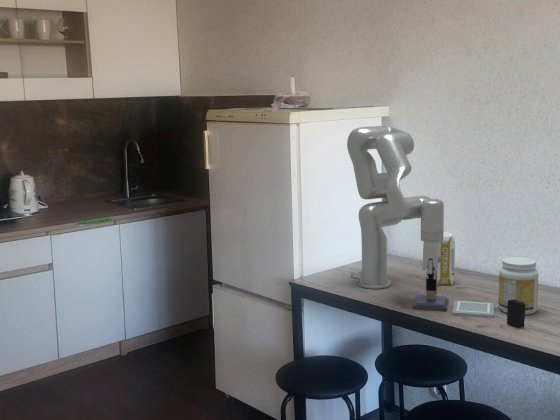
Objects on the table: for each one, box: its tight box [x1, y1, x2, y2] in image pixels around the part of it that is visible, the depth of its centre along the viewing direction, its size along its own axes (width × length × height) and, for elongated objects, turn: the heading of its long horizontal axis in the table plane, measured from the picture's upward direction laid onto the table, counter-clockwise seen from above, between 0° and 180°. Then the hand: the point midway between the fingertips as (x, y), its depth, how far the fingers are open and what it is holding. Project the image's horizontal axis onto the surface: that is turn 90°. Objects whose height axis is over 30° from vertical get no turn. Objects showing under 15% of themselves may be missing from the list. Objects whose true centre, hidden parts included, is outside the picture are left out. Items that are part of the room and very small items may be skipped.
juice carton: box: [437, 231, 456, 286], centre depth 255 cm, size 8×9×19 cm
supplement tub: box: [498, 256, 540, 316], centre depth 221 cm, size 12×12×17 cm
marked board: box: [451, 300, 495, 318], centre depth 224 cm, size 13×13×1 cm
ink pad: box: [412, 294, 450, 312], centre depth 230 cm, size 11×11×2 cm
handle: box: [425, 256, 441, 301], centre depth 228 cm, size 5×6×15 cm
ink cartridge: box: [506, 299, 526, 330], centre depth 207 cm, size 5×2×8 cm, turn 29°
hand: (431, 288), depth 229 cm, fingers closed on handle, 4 cm apart
